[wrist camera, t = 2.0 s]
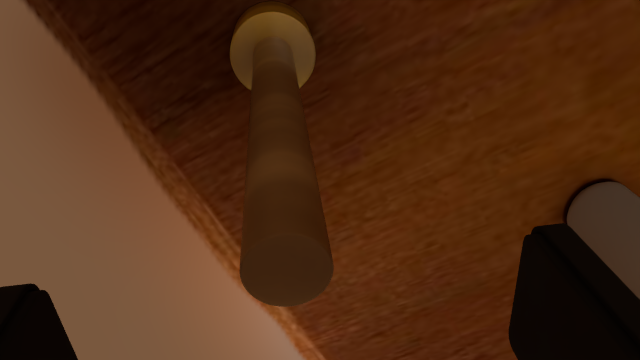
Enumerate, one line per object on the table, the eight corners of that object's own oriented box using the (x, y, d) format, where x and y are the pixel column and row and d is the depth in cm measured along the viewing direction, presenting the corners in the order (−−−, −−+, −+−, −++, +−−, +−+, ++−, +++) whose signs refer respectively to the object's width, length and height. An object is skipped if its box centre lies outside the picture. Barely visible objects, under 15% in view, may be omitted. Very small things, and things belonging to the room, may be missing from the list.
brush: (227, 4, 27) (158, 195, 9) (307, -3, 27) (389, 171, 9) (239, 83, 29) (202, 356, 11) (313, 75, 29) (388, 332, 12)
